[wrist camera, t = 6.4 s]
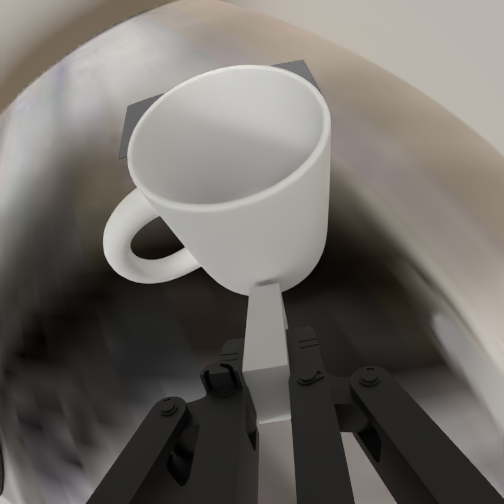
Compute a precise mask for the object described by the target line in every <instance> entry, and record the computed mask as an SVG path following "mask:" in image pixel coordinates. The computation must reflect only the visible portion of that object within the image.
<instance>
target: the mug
mask: <svg viewBox="0 0 504 504" xmlns="http://www.w3.org/2000/svg"><path fill="white" fill-rule="evenodd" d="M330 155H331V118H330V112H329V109H328V105H327V103H326V102H325V100H324V98H323V96H322V95H321V93H320V92H319V91H318V90H317V88H316V87H314V86H313V85H312V84H311V83H310V82H309V81H307V80H306V79H304V78H303V77H301V76H299V75H297V74H295V73H293V72H290V71H288V70H285V69H281V68H277V67H273V66H266V65H253V64H252V65H235V66H228V67H223V68H218V69H214V70H211V71H207V72H204V73H202V74H199V75H196V76H194V77H192V78H190V79H187V80H186V81H184V82H182V83H180V84H178V85H177V86H175V87H173V88H172V89H170V90H169V91H168V92H166V93H165V94H164V95H162V96H161V97H160V98H159V99H158V100H157V101H155V102H154V103H153V104H152V105H151V106H150V107H149V109H148V110H147V111H146V112H145V113H144V115H143V116H142V117H141V119H140V120H139V122H138V123H137V125H136V127H135V129H134V131H133V133H132V136H131V138H130V142H129V146H128V153H127V159H128V168H129V172H130V175H131V177H132V180H133V182H134V184H135V185H136V186H137V188H136V189H134V190H133V191H132V192H131V193H130V194H128V195H127V196H126V197H125V198H124V199H123V200H122V201H121V202H120V203H119V205H118V206H117V207H116V209H115V210H114V211H113V213H112V215H111V216H110V218H109V220H108V222H107V224H106V227H105V230H104V236H103V247H104V254H105V256H106V259H107V261H108V262H109V264H110V265H111V267H112V268H113V269H114V270H115V271H116V272H117V273H118V274H119V275H121V276H123V277H125V278H127V279H129V280H131V281H134V282H139V283H160V282H165V281H170V280H173V279H176V278H178V277H181V276H183V275H185V274H188V273H190V272H192V271H194V270H195V269H197V268H199V267H203V268H204V270H205V271H206V272H207V273H208V274H209V275H210V276H211V277H212V278H213V279H214V280H215V281H217V282H218V283H219V284H221V285H222V286H223V287H225V288H227V289H229V290H231V291H233V292H236V293H239V294H242V295H248V296H249V290H250V288H254V287H259V286H264V285H269V284H275V283H279V285H280V289H281V292H283V291H286V290H288V289H290V288H292V287H294V286H295V285H297V284H298V283H300V282H301V281H302V280H304V279H305V278H306V277H307V276H308V275H309V274H310V273H311V271H312V270H313V269H314V268H315V266H316V265H317V263H318V261H319V259H320V257H321V255H322V253H323V250H324V246H325V242H326V236H327V226H328V208H329V186H330ZM158 216H161V218H162V219H163V220H164V221H165V223H166V224H167V225H168V226H169V227H170V229H171V230H172V231H173V232H174V234H175V235H176V236H177V237H178V239H179V240H180V241H181V242H182V244H183V245H184V246H185V248H183V249H182V250H180V251H178V252H176V253H174V254H172V255H170V256H168V257H165V258H162V259H158V260H145V259H141V258H139V257H137V256H136V255H134V254H133V253H132V251H131V248H130V244H131V241H132V238H133V237H134V236H135V234H136V233H137V232H138V231H139V230H140V229H141V228H142V227H143V226H144V225H146V224H147V223H148V222H150V221H151V220H153V219H155V218H156V217H158Z"/></svg>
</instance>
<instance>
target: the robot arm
mask: <svg viewBox="0 0 504 504" xmlns="http://www.w3.org/2000/svg"><path fill="white" fill-rule="evenodd" d="M200 378H201V380H202V382H203V385H204V387H205V390H206V392H207V393H206V396H205V397H203V398H201V399H199V400H196V401H193V402H189V403H186V402H185V401H184V400H183V399H182V398H179V397H167V398H164V399H162V400H160V401H158V402H157V403H156V404H155V405H154V406H153V408H152V409H151V410H150V412H149V413H148V415H147V416H146V418H145V419H144V421H143V422H142V424H141V425H140V426H139V428H138V429H137V431H136V432H135V434H134V435H133V437H132V438H131V439H130V441H129V442H128V444H127V445H126V447H125V448H124V450H123V451H122V452H121V454H120V455H119V457H118V458H117V460H116V461H115V463H114V464H113V465H112V467H111V468H110V470H109V471H108V473H107V474H106V475H105V477H104V478H103V480H102V481H101V483H100V484H99V486H98V487H97V488H96V490H95V491H94V493H93V494H92V496H91V497H90V498H89V500H88V501H87V503H86V504H258V463H259V432H258V429H257V426H256V417H257V419H258V422H259V424H260V423H268V422H276V421H282V420H289V419H291V422H292V436H293V449H294V464H295V479H296V495H297V504H355V502H354V497H353V492H352V487H351V482H350V477H349V472H348V467H347V462H346V457H345V452H344V447H343V443H342V438H341V434H340V432H352V433H353V435H354V437H355V439H356V440H357V442H358V443H359V445H360V446H361V448H362V449H363V451H364V453H365V454H366V456H367V457H368V459H369V460H370V462H371V464H372V465H373V467H374V468H375V470H376V471H377V473H378V474H379V476H380V478H381V479H382V481H383V482H384V484H385V485H386V487H387V488H388V490H389V492H390V493H391V495H392V496H393V498H394V499H395V501H396V502H397V504H504V498H503V497H502V496H501V495H500V494H499V493H498V492H497V491H496V489H495V488H494V487H493V486H492V485H491V484H490V483H489V482H488V480H487V479H486V478H485V477H484V476H483V475H482V474H481V473H480V472H479V470H478V469H477V468H476V467H475V466H474V465H473V464H472V463H471V462H470V460H469V459H468V458H467V457H466V456H465V455H464V454H463V453H462V452H461V451H460V449H459V448H458V447H457V446H456V445H455V444H454V443H453V442H452V441H451V440H450V438H449V437H448V436H447V435H446V434H445V433H444V432H443V431H442V430H441V429H440V428H439V427H438V425H437V424H436V423H435V422H434V421H433V420H432V419H431V418H430V417H429V416H428V415H427V413H426V412H425V411H424V410H423V409H422V408H421V407H420V406H419V405H418V404H417V403H416V402H415V401H414V399H413V398H412V397H411V396H410V395H409V394H408V393H407V392H406V391H405V390H404V389H403V388H402V387H401V386H400V384H399V383H398V382H397V381H396V380H395V379H394V378H393V377H392V376H391V375H390V374H389V373H388V372H387V371H386V370H385V369H383V368H382V367H378V366H366V367H362V368H360V369H358V370H356V371H355V372H354V373H353V374H352V375H351V377H336V376H333V375H331V374H329V373H328V372H327V371H326V370H325V368H324V366H323V362H322V358H321V353H320V349H319V345H318V341H317V337H316V333H315V330H313V329H312V328H311V327H310V326H309V325H307V326H302V327H296V328H291V329H288V324H287V319H286V314H285V309H284V304H283V299H282V294H281V289H280V285H279V283H275V284H269V285H264V286H259V287H254V288H250V290H249V301H248V312H247V323H246V335H245V337H244V338H237V339H231V340H227V342H226V343H225V344H224V345H223V347H222V350H221V356H220V360H219V362H216V363H213V364H211V365H209V366H207V367H206V368H205V369H203V370H202V372H201V374H200ZM2 482H3V472H2V460H1V453H0V495H1V491H2Z"/></svg>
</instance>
